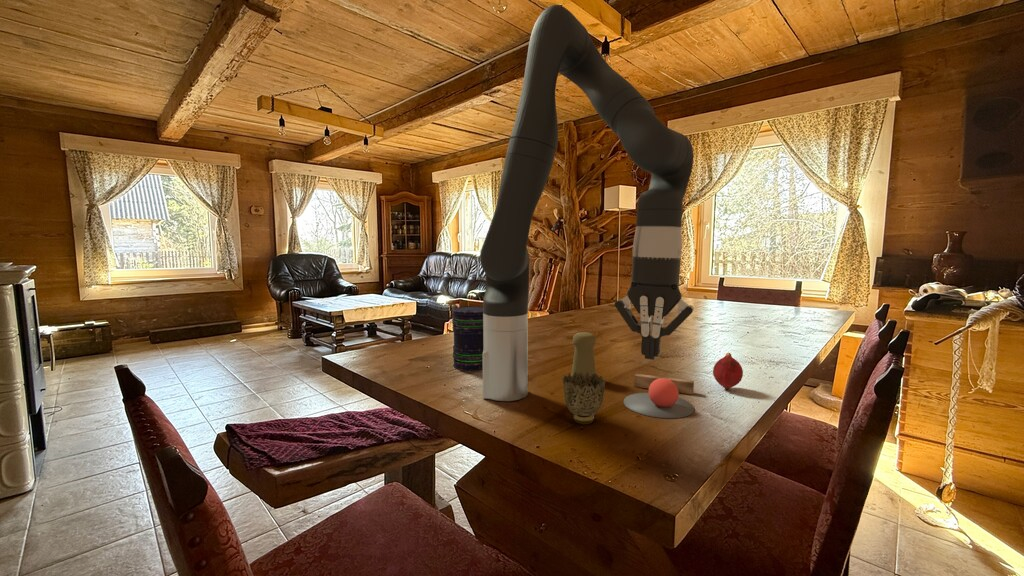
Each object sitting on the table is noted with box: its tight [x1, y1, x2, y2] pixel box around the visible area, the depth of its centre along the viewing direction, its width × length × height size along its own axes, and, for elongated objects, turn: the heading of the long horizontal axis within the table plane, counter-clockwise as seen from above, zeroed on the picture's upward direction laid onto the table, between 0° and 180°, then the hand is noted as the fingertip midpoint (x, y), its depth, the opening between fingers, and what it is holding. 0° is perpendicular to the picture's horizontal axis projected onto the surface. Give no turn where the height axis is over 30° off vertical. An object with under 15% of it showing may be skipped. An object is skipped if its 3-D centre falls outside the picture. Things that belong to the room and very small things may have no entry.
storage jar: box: [451, 305, 483, 372], centre depth 111 cm, size 10×10×15 cm
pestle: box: [570, 331, 597, 376], centre depth 100 cm, size 6×6×11 cm
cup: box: [562, 372, 606, 425], centre depth 76 cm, size 8×7×8 cm
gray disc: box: [623, 392, 695, 419], centre depth 85 cm, size 13×13×1 cm
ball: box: [647, 378, 680, 407], centre depth 84 cm, size 6×6×6 cm
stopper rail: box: [633, 373, 695, 395], centre depth 93 cm, size 12×2×2 cm, turn 65°
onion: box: [712, 352, 744, 390], centre depth 93 cm, size 6×6×8 cm
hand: (649, 358), depth 73 cm, fingers closed
